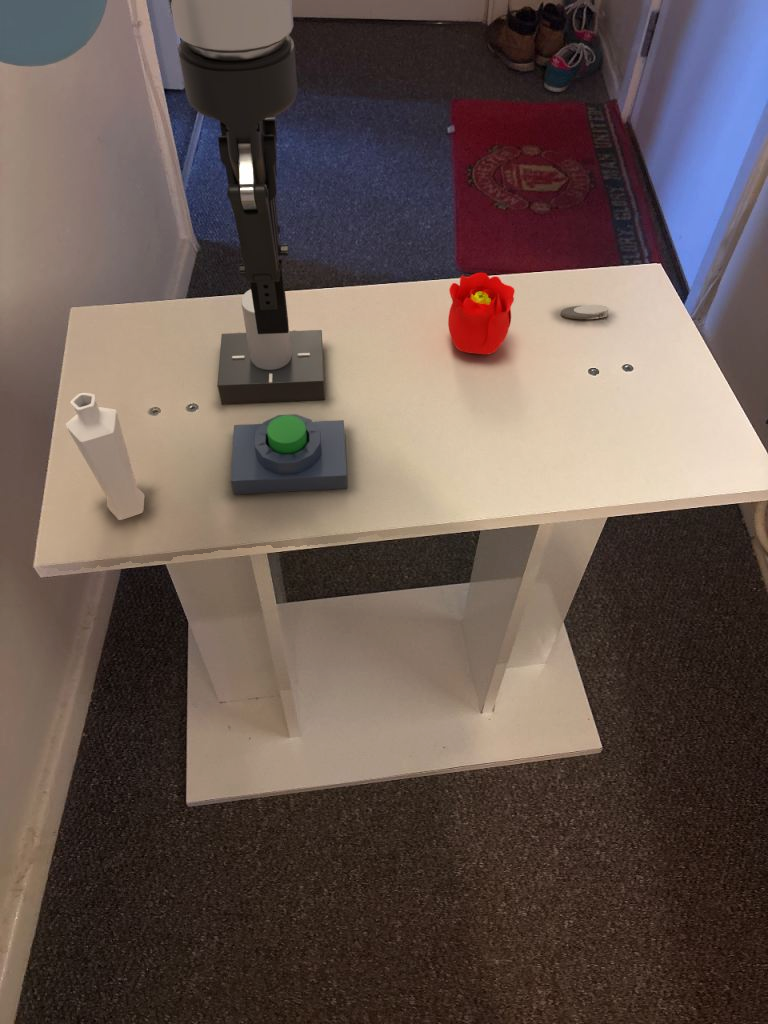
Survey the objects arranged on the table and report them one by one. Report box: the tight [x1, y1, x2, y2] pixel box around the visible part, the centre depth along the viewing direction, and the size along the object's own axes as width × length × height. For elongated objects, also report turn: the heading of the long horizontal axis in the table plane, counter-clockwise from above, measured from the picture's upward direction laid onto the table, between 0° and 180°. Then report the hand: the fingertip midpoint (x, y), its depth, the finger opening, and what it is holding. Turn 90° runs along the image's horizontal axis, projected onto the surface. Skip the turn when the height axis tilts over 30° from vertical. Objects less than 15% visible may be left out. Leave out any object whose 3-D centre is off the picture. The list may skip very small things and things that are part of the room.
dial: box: [240, 288, 292, 370], centre depth 85 cm, size 5×5×8 cm
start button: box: [267, 414, 307, 454], centre depth 78 cm, size 4×4×2 cm
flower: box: [447, 272, 515, 355], centre depth 91 cm, size 8×8×8 cm
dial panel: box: [217, 329, 326, 405], centre depth 89 cm, size 12×9×3 cm
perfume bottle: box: [65, 392, 146, 521], centre depth 72 cm, size 5×4×15 cm
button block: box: [230, 413, 348, 495], centre depth 80 cm, size 12×8×4 cm, turn 94°
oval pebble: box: [560, 304, 610, 320], centre depth 98 cm, size 6×2×1 cm, turn 87°
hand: (273, 328), depth 67 cm, fingers closed
